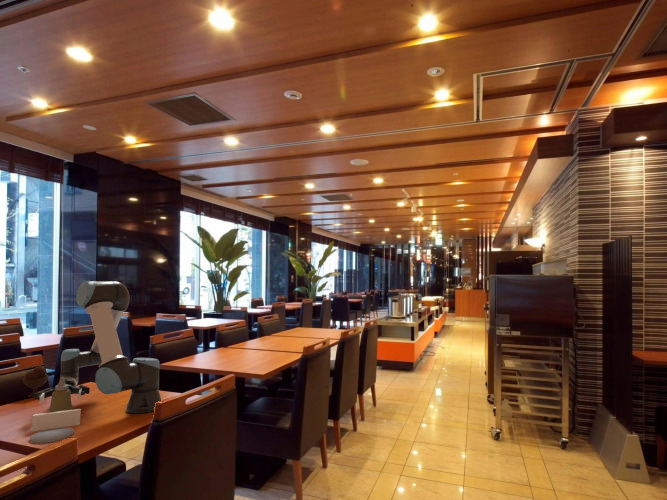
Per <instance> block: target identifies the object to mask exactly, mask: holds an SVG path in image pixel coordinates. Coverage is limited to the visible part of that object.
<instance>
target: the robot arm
mask: <svg viewBox="0 0 667 500" xmlns="http://www.w3.org/2000/svg"><path fill="white" fill-rule="evenodd" d="M75 297H76V298H75V300H76V303H77V305H78V306H79V307H84V312H85V313H86V314H88V315H89V316H90V320H91V325H92V327H93V328H92V329H93V332H94V336H95V338H94V340H93V343H92V345H91V348H90V350H87V351H80V349H79V348H69V349H64V350H62V352H61V357H60V373H59V374H60V375H59V379H60V378H61V377H64V379H65V384H67V385H68V389H69V390H70V391H71V395H78V396H77V399H78V400H81V398H82V396H85V395H86V394H87V395H89V394H90V392H91V391H90V390H91V388H90V387H88V386H86V385H83V384H80V385H78V384H79V379H80V378H79V373H80V372H79V369H80V368H84V367H91V366H96V365H98V370H97V371H96V372H95V378H94V379H95V385H96V387H97V390H98V391H99V392H101V393H102V394H104V395H113V394H119V393H122V392H126V391H129V390H131V391H130V392H131V393H130V396H129V399H128V401H127V404H126V407H125V408H126V409H125V411H126V412H127V413H128V412H129V413H130V414H146V413H145V412H148V413H152V412H151V411H153V412H155V411H154V407H155V403H156V402H158V401H161V400H162V398H161V393H160V391H159V390H160V369H161V367H160V360H159V359H158V358H152V357H134V358H133V359H132V360H131V361H132V362H129V358H128V357H127V356H125V355H123V354H124V353H123V349H122V347H121V344H120V343H121V341H120V339H119V336H118V331H117V328H118V326H119V323H120V321H121V318H122V315H124V314H123V313H124V312H125V311H126V310H128V307H129V304H130V300H131V299H130V297H131V296H130V292H129V290H128V288H127V287H126V285H125V284H123V283H122V282H119V281H117V280H116V281H115V280H112V281H111V280H109V281H108V280H105V281H104V280H102V281H101V280H100V281H99V280H98V281H97V280H92V281H83V282H82V283H81V284H80V286H78V289H77V291H76V296H75ZM57 385H59V382H58V383H57ZM77 385H78V386H77ZM54 391H56V390H55V387H54V388H53V389H52V387H46V388H45V389H42V390H40V391H37V393H35V396H34V397H33V398H34V400H38V401H39V402H38V403H39V404H42V403H43V402H44V400H45V399H46V398H50V397H52V393H53V392H54Z"/></svg>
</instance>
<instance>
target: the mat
mask: <svg viewBox="0 0 667 500" xmlns="http://www.w3.org/2000/svg"><path fill="white" fill-rule="evenodd" d="M74 434H75V429H74V428H71V427H61V428H54V429H47V430H40V431H37V432H36V433H34V434H32V435H31V436H30V437H29V440H30V441H29V443H31V442H32V443H31V444H35V443H38V445H43V444H50V443H56V442H60V441H63V439H64V440H66V439H68V438H70V437H69V436H71V437H72V436H74Z"/></svg>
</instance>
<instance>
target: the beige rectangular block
mask: <svg viewBox="0 0 667 500" xmlns="http://www.w3.org/2000/svg"><path fill="white" fill-rule="evenodd" d="M81 410H82V409H81V408H76V409H74V408H73V409H72V410H66V411H58V412H49V411H48V412H44V413H43V412H42V413H35V414H33V415H32V421H31V422H32V424H31V432H40V431H45V430H49V429H55V428H69V427H74V426H80V424H81V413H82V411H81Z"/></svg>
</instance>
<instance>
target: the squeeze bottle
mask: <svg viewBox="0 0 667 500" xmlns="http://www.w3.org/2000/svg"><path fill="white" fill-rule="evenodd" d="M58 383H59V385H58V384H57V385H55V387H54V388H55V390H56V391H54V392H53V393H52V396H51V400H50V404H49V409H48V410H49V411H48V413H49V412H58V411H66V410H73V409H72V394H71V391H70V390H69V389H68V385H67V384H65V379H64V377H61V378H60V377H59V382H58Z"/></svg>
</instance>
